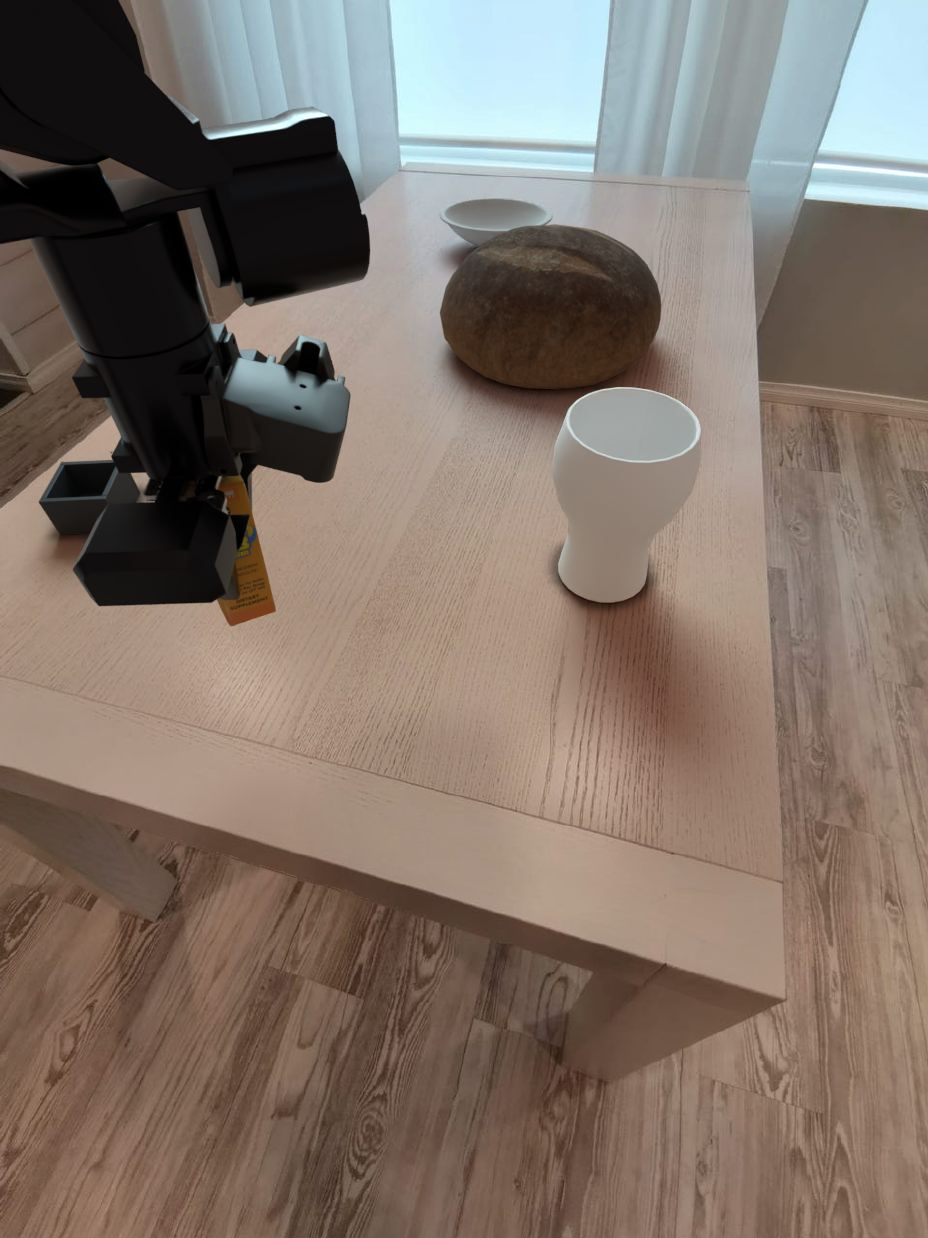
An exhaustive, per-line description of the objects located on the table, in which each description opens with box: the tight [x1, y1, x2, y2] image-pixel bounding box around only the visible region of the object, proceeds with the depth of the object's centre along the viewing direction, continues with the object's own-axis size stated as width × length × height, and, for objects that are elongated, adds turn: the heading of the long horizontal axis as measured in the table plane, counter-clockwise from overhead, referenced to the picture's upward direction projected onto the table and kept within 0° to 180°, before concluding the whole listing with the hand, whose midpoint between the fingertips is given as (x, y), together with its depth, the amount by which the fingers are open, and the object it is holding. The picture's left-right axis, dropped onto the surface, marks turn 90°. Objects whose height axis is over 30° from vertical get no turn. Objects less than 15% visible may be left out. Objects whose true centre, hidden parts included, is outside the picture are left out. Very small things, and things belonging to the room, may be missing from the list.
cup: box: [551, 386, 702, 604], centre depth 52 cm, size 11×11×15 cm
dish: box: [438, 196, 554, 247], centre depth 103 cm, size 18×14×5 cm
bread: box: [439, 223, 662, 390], centre depth 79 cm, size 26×27×13 cm
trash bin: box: [38, 459, 141, 536], centre depth 62 cm, size 6×6×4 cm
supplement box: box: [216, 475, 277, 627], centre depth 39 cm, size 3×3×10 cm
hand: (237, 572), depth 41 cm, fingers closed on supplement box, 4 cm apart
